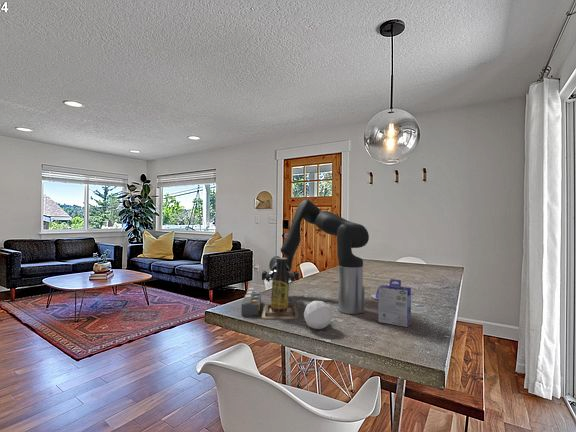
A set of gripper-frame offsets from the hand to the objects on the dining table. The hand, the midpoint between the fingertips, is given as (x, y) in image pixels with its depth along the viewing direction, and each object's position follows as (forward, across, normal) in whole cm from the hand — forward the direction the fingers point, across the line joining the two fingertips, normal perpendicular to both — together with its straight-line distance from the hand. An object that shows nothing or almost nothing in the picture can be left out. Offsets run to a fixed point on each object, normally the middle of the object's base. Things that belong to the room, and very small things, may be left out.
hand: (280, 279), depth 116 cm
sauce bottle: (-2, 0, +12) cm, 13 cm away
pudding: (-25, +47, +14) cm, 55 cm away
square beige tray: (-2, 0, +13) cm, 13 cm away
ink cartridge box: (+9, +39, +13) cm, 42 cm away
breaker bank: (-8, -11, +13) cm, 19 cm away
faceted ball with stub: (+13, +13, +13) cm, 23 cm away
